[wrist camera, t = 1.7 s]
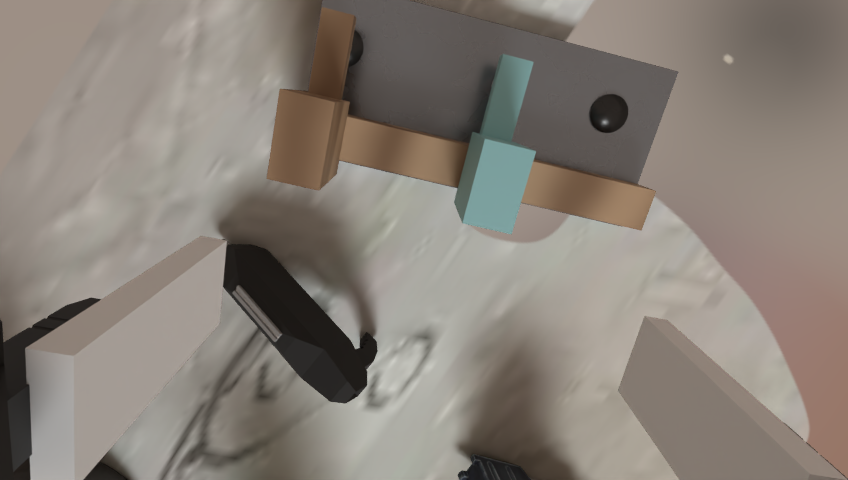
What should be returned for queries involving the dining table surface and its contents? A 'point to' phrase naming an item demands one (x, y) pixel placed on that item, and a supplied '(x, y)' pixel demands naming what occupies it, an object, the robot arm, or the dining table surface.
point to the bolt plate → (474, 73)
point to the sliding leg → (497, 154)
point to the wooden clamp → (412, 144)
